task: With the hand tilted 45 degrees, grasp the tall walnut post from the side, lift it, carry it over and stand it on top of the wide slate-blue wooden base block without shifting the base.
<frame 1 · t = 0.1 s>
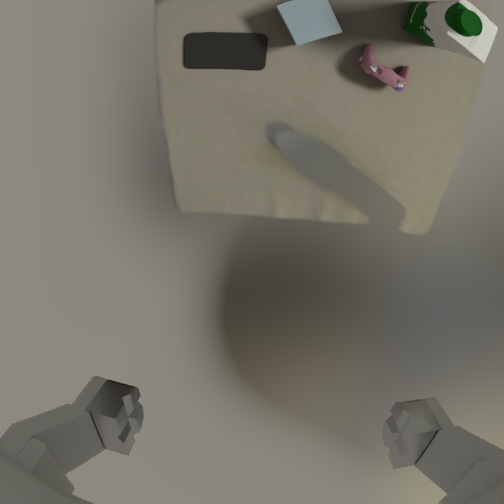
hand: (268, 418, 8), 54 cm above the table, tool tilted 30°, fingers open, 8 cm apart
video game controller: (381, 66, 43), on the table
milk carton: (422, 24, 35), on the table
base block: (306, 19, 39), on the table
phone: (225, 50, 45), on the table
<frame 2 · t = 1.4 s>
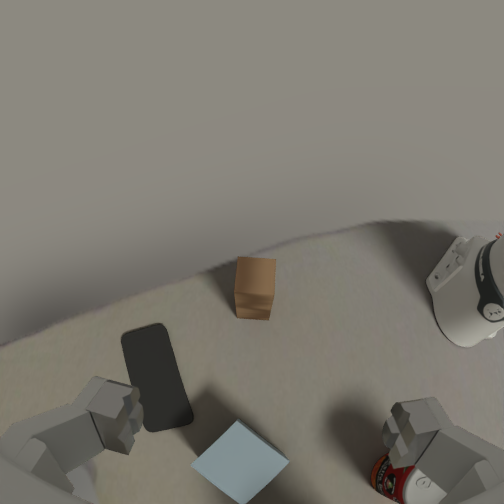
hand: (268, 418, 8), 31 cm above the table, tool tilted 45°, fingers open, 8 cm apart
base block: (241, 456, 32), on the table
canned food: (392, 471, 30), on the table
walnut post: (254, 304, 43), on the table
phone: (156, 378, 37), on the table
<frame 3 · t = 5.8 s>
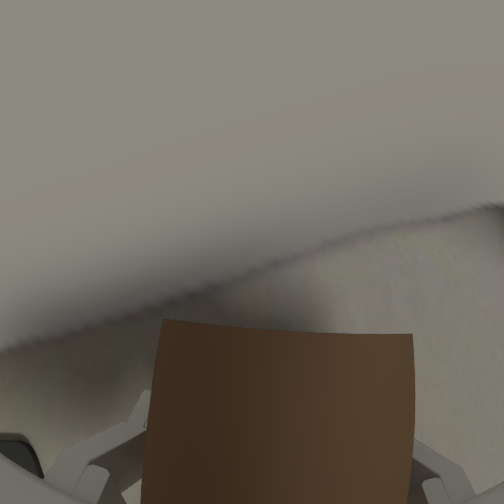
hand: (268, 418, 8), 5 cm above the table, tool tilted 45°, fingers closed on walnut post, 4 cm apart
walnut post: (258, 426, 12), on the table, touching gripper
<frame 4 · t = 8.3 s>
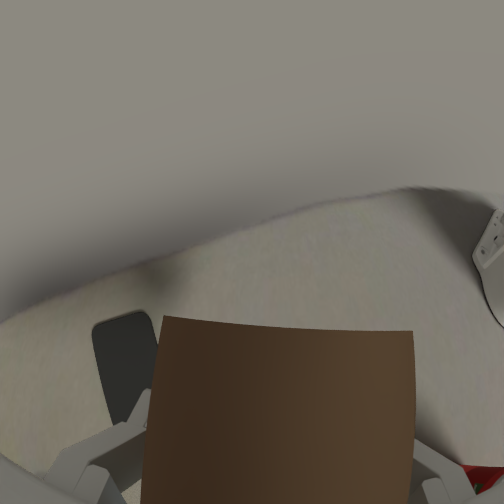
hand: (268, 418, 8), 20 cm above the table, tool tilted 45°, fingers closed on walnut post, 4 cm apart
canned food: (444, 492, 19), on the table
walnut post: (258, 425, 12), point 15 cm above the table, touching gripper
phone: (136, 385, 27), on the table
when the fingers open (13 cm above the table, at t = 10.9 s): walnut post drops 1 cm, resting on base block.
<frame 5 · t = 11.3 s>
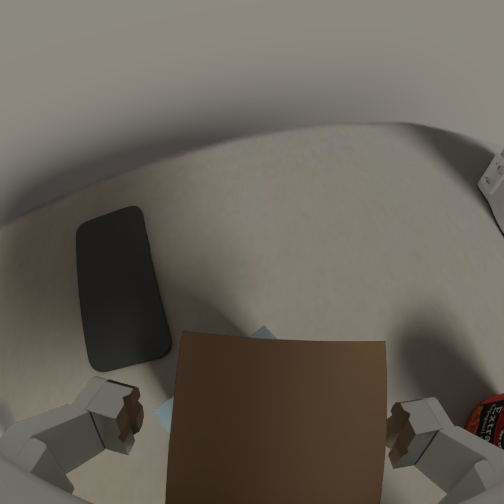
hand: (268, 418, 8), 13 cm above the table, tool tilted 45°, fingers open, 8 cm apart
base block: (254, 420, 19), on the table, touching walnut post
canned food: (485, 434, 16), on the table
walnut post: (257, 421, 14), point 6 cm above the table, touching base block
phone: (117, 284, 24), on the table
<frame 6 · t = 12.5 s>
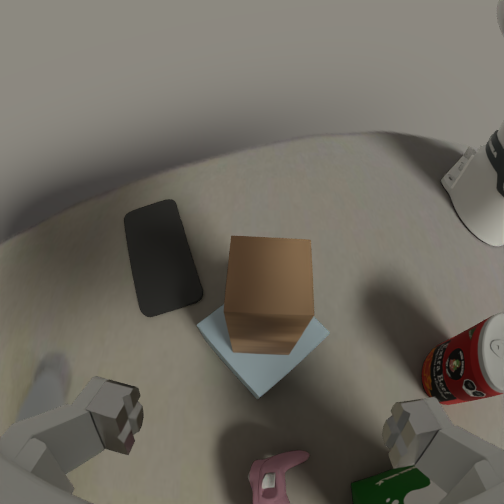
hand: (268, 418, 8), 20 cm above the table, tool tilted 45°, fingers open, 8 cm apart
video game controller: (280, 492, 21), on the table
milk carton: (382, 499, 20), on the table
base block: (260, 345, 29), on the table, touching walnut post
canned food: (444, 374, 27), on the table
walnut post: (262, 327, 24), point 6 cm above the table, touching base block
phone: (160, 255, 35), on the table
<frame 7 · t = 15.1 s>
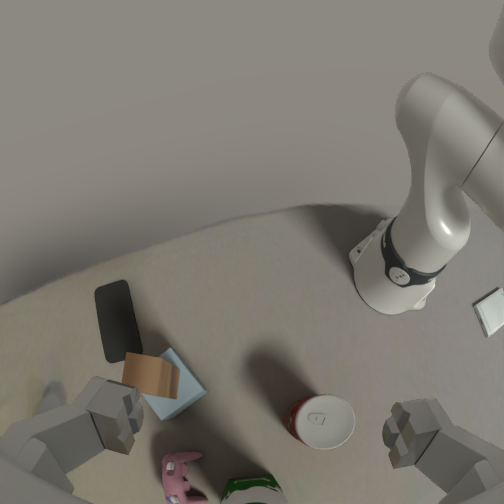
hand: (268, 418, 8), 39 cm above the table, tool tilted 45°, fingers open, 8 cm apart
video game controller: (188, 476, 36), on the table
milk carton: (253, 495, 34), on the table
base block: (174, 387, 44), on the table, touching walnut post
canned food: (308, 419, 41), on the table
walnut post: (163, 382, 38), point 6 cm above the table, touching base block
phone: (117, 321, 49), on the table
hard drive: (491, 313, 50), on the table
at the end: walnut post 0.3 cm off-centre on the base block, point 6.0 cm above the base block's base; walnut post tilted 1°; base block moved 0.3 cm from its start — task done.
